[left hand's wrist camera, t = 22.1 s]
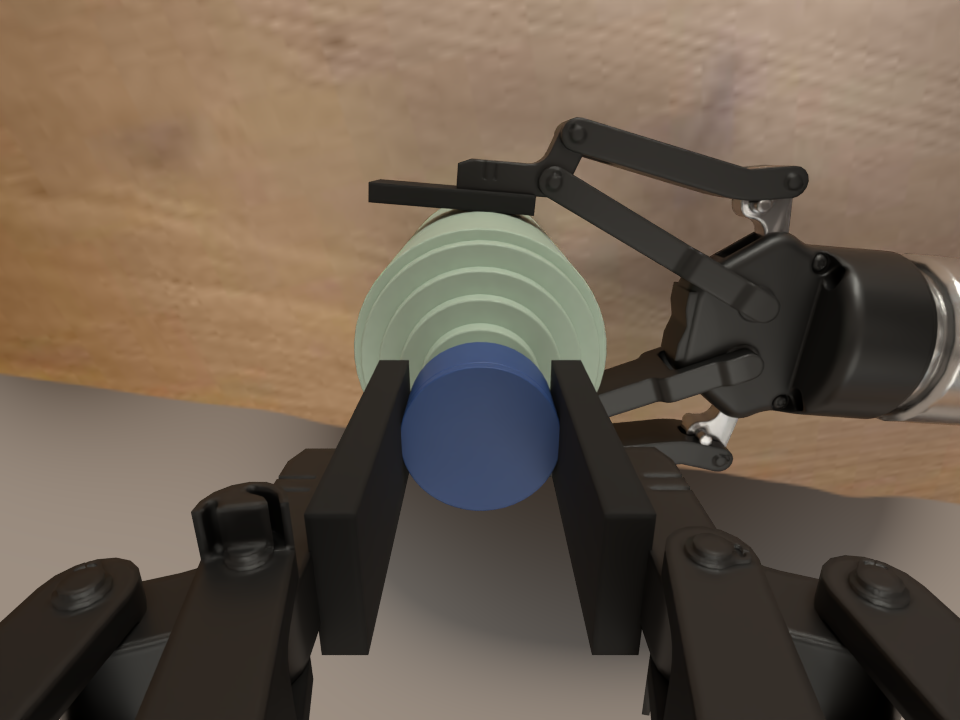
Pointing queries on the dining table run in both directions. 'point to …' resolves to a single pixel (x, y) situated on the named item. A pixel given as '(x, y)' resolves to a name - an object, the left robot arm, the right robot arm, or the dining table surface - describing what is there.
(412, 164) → the dining table surface
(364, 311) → the bottle
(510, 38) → the dining table surface
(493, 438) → the cap
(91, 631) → the left robot arm
